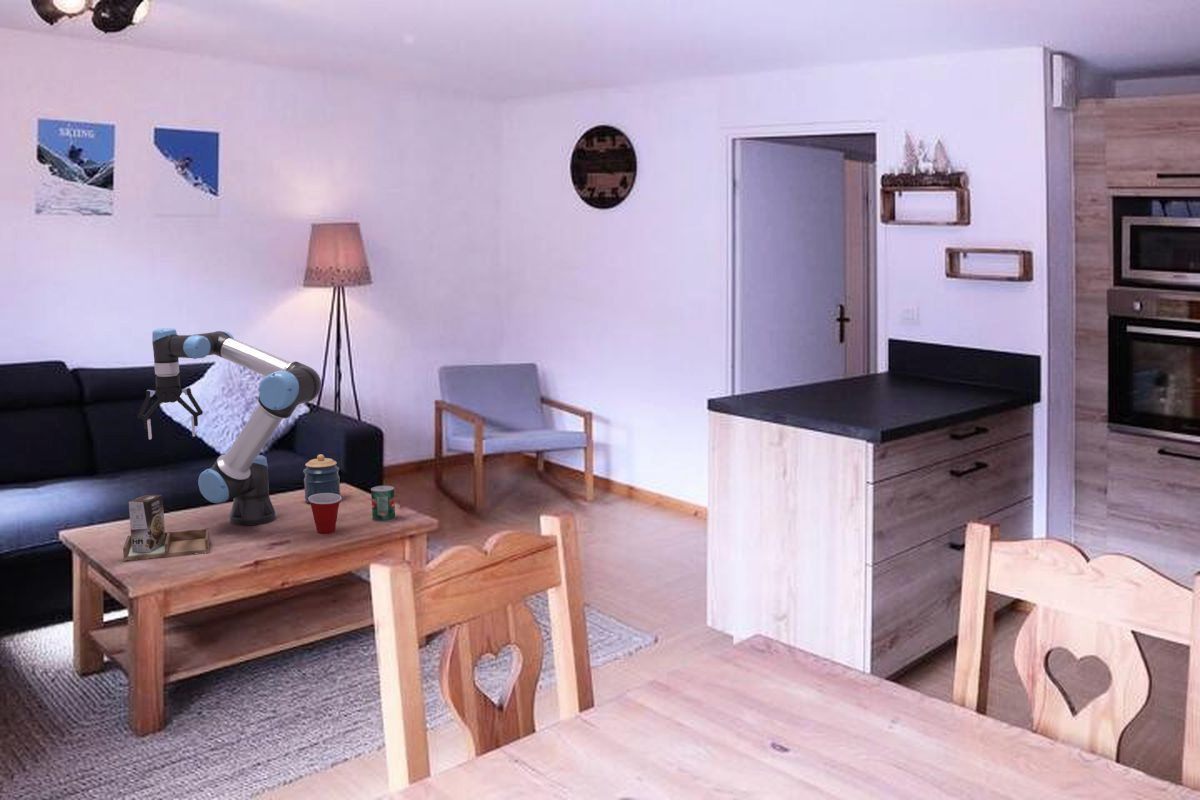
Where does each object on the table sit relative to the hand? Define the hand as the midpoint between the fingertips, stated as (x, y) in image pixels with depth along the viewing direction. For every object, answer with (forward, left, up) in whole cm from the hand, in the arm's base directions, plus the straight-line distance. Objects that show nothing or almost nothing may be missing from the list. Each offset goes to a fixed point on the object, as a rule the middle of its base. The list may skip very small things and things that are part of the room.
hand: (172, 437), depth 342 cm
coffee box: (+7, +30, -29) cm, 43 cm away
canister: (-49, -17, -31) cm, 60 cm away
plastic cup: (-47, +26, -31) cm, 62 cm away
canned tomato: (-67, +17, -31) cm, 76 cm away
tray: (+2, +30, -31) cm, 43 cm away
